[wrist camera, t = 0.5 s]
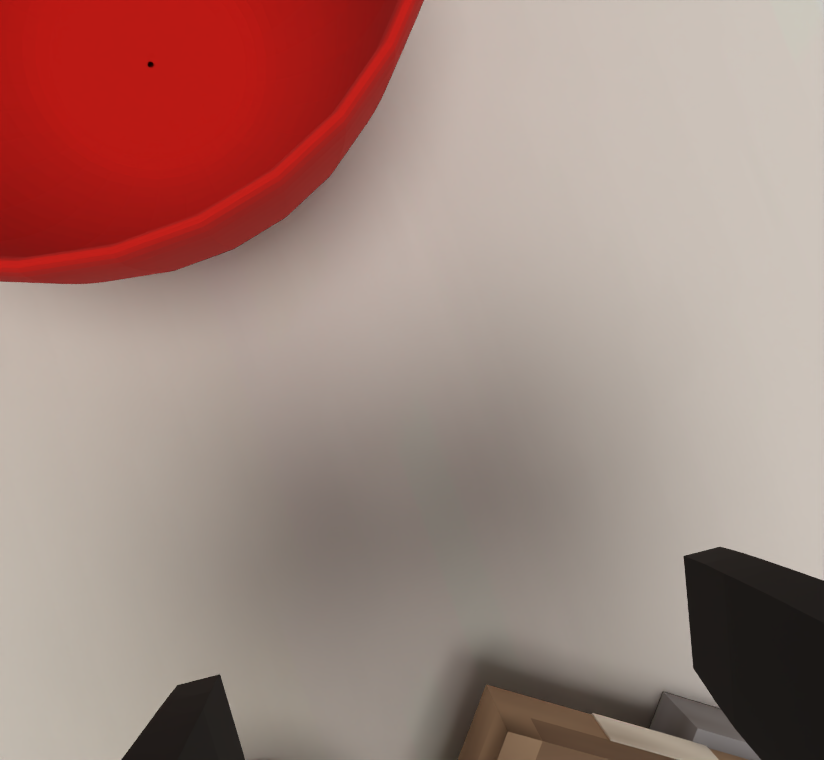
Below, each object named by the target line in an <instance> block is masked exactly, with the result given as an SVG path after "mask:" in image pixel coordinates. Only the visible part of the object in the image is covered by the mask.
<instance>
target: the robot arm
mask: <svg viewBox="0 0 824 760" xmlns="http://www.w3.org/2000/svg"><path fill="white" fill-rule="evenodd" d="M684 565H685V577H686V588H687V599H688V611H689V622H690V634H691V645H692V657H693V668H694V670H695V671H696V673H697V674H698V676H699V677H700V679H701V680H702V682H703V683H704V685H705V686H706V688H707V689H708V691H709V692H710V694H711V695H712V697H713V698H714V700H715V701H716V703H717V704H718V706H719V707H720V708H721V710H722V711H723V713H724V714H725V716H726V717H727V718H728V720H729V721H730V723H731V724H732V725H733V727H734V728H735V730H736V731H737V732H738V733H739V734H740V736H741V737H742V738H743V739H744V740H745V741H746V743H747V744H748V745H749V746H750V747H751V748H752V750H753V751H754V752H755V753H756V754H757V755H758V757H759V758H760V759H761V760H824V581H823V580H820V579H817V578H814V577H811V576H809V575H806V574H803V573H800V572H797V571H794V570H791V569H789V568H786V567H783V566H780V565H777V564H774V563H771V562H768V561H765V560H762V559H759V558H756V557H753V556H750V555H747V554H744V553H740V552H737V551H734V550H730V549H726V548H722V547H717V548H713V549H710V550H706V551H702V552H698V553H694V554H690V555H686V556H684ZM122 760H245V758H244V754H243V751H242V748H241V744H240V741H239V737H238V734H237V731H236V727H235V724H234V720H233V717H232V714H231V710H230V707H229V703H228V700H227V697H226V693H225V690H224V686H223V683H222V680H221V676H220V675H216V676H212V677H208V678H204V679H200V680H196V681H192V682H189V683H185V684H181V685H177V687H176V688H175V689H174V690H173V692H172V693H171V694H170V695H169V697H168V698H167V699H166V701H165V702H164V703H163V704H162V706H161V707H160V708H159V710H158V711H157V713H156V714H155V715H154V717H153V718H152V719H151V721H150V722H149V723H148V725H147V726H146V727H145V729H144V730H143V731H142V733H141V734H140V736H139V737H138V738H137V740H136V741H135V742H134V744H133V745H132V746H131V748H130V749H129V750H128V752H127V753H126V754H125V756H124V757H123V758H122Z"/></svg>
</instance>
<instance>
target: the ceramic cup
mask: <svg viewBox="0 0 824 760" xmlns="http://www.w3.org/2000/svg"><path fill="white" fill-rule="evenodd" d="M423 1H424V0H0V281H3V282H30V283H56V284H87V283H99V282H106V281H113V280H119V279H125V278H132V277H138V276H144V275H151V274H157V273H164V272H170V271H174V270H178V269H180V268H183V267H186V266H189V265H191V264H194V263H197V262H200V261H202V260H205V259H208V258H210V257H213V256H216V255H219V254H221V253H224V252H227V251H230V250H232V249H235V248H236V247H238V246H239V245H241V244H243V243H244V242H246V241H248V240H249V239H251V238H253V237H254V236H256V235H258V234H259V233H261V232H262V231H264V230H266V229H267V228H269V227H271V226H272V225H274V224H276V223H277V222H279V221H281V220H282V219H284V218H285V217H287V216H288V215H289V214H290V213H291V212H292V211H293V210H294V209H295V208H296V207H297V206H298V205H299V204H301V203H302V202H303V201H304V200H305V199H306V198H307V197H308V196H309V195H310V194H311V193H312V192H313V191H314V190H316V189H317V188H318V187H319V186H320V185H321V184H322V183H323V182H324V181H325V180H326V179H327V178H328V177H329V176H330V175H331V174H332V173H333V171H334V170H335V168H336V167H337V165H338V164H339V163H340V161H341V160H342V158H343V157H344V155H345V154H346V153H347V151H348V150H349V148H350V147H351V145H352V144H353V143H354V141H355V140H356V138H357V137H358V135H359V134H360V133H361V131H362V130H363V128H364V127H365V125H366V124H367V123H368V121H369V120H370V118H371V116H372V115H373V113H374V111H375V110H376V108H377V106H378V104H379V102H380V100H381V98H382V96H383V94H384V92H385V90H386V87H387V85H388V83H389V80H390V78H391V76H392V73H393V71H394V69H395V67H396V64H397V62H398V60H399V57H400V55H401V53H402V50H403V48H404V46H405V44H406V41H407V39H408V37H409V34H410V32H411V30H412V27H413V25H414V23H415V20H416V18H417V16H418V13H419V11H420V8H421V6H422V3H423Z"/></svg>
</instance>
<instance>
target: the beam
mask: <svg viewBox="0 0 824 760" xmlns="http://www.w3.org/2000/svg"><path fill="white" fill-rule="evenodd" d="M458 760H761V759H760V758H759V757H758V755H757V754H756V753H755V752H754V751H753V750H752V748H751V747H750V746H749V745H748V744H747V743H746V741H745V740H744V739H743V738H742V737H741V736H740V734H739V733H738V732H737V731H736V730H735V728H734V727H733V725H732V724H731V723H730V721H729V720H728V718H727V717H726V716H725V714H724V713H723V711H722V710H721V709H719V708H716V707H712V706H709V705H706V704H702V703H699V702H696V701H692V700H689V699H686V698H682V697H679V696H676V695H672V694H669V693H665V692H663V694H662V696H661V699H660V702H659V704H658V707H657V709H656V712H655V715H654V717H653V720H652V722H651V725H650V727H649V729H647V728H644V727H640V726H637V725H633V724H630V723H626V722H623V721H619V720H616V719H612V718H609V717H605V716H602V715H598V714H595V713H592V715H591V714H588V713H584V712H581V711H577V710H574V709H571V708H567V707H564V706H560V705H557V704H553V703H550V702H546V701H543V700H539V699H536V698H532V697H529V696H525V695H522V694H518V693H515V692H511V691H508V690H504V689H501V688H497V687H494V686H490V685H487V684H486V686H485V689H484V691H483V694H482V696H481V699H480V702H479V704H478V707H477V710H476V712H475V715H474V718H473V720H472V723H471V726H470V728H469V731H468V734H467V736H466V739H465V741H464V744H463V747H462V749H461V752H460V755H459V757H458Z"/></svg>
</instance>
